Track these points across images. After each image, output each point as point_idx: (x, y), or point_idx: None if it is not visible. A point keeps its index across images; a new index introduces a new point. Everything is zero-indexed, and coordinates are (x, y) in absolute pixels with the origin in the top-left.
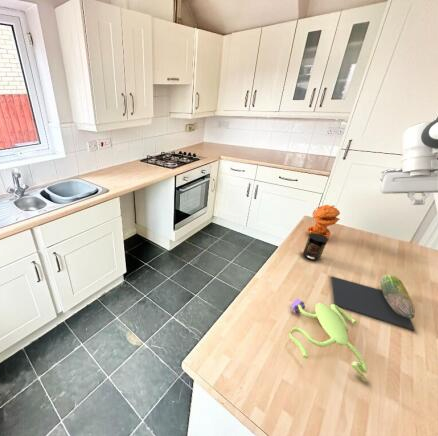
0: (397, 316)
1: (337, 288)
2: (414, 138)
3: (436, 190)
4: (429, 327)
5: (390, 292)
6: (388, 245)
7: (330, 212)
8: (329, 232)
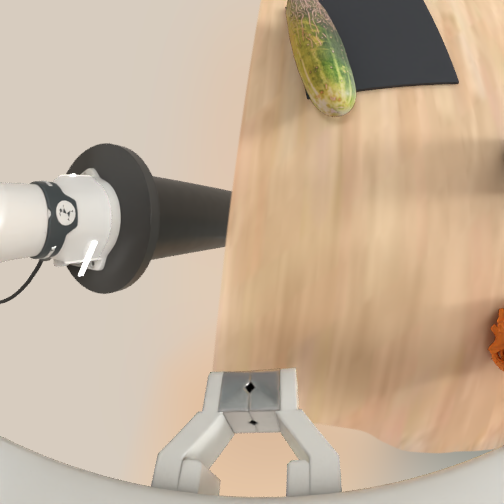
0: None
1: (434, 39)
2: None
3: (93, 476)
4: (260, 37)
5: (333, 31)
6: (309, 400)
7: None
8: (501, 343)
